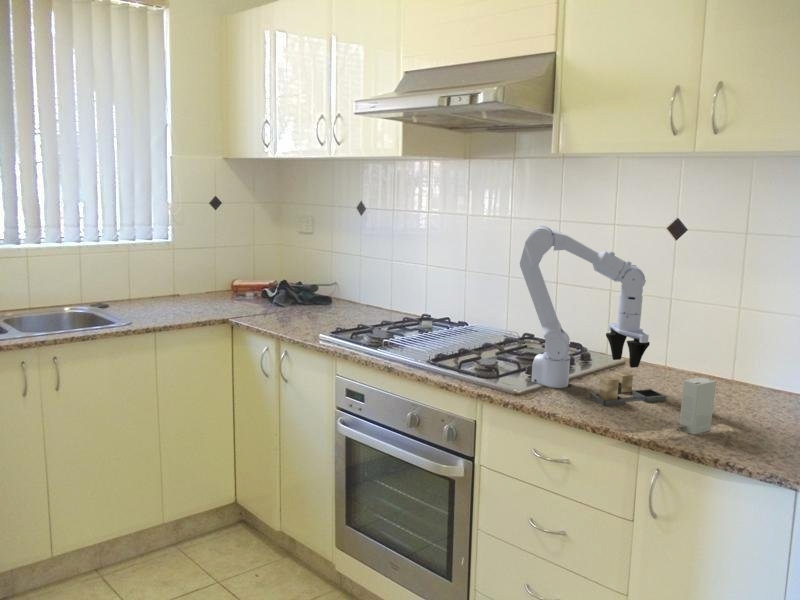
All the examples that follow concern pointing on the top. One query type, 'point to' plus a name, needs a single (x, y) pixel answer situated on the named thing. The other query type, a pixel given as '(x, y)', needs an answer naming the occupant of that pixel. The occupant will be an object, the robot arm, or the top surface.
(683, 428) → the skincare box
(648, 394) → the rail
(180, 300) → the top surface
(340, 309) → the top surface
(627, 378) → the beige wooden block
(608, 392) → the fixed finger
